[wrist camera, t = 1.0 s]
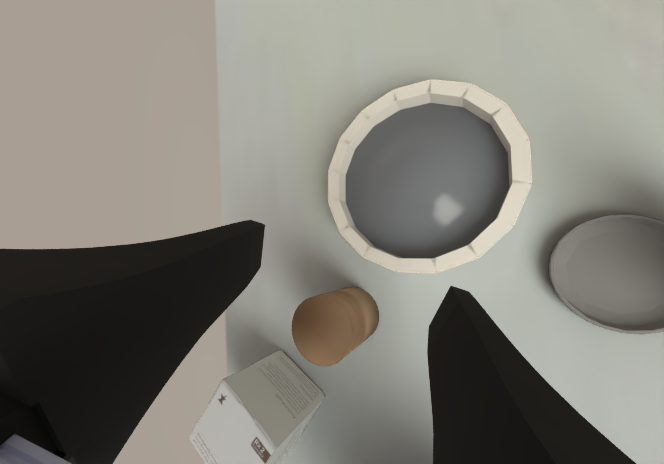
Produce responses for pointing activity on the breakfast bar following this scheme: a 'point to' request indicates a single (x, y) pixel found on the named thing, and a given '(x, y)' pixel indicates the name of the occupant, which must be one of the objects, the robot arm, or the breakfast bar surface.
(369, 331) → the walnut cylinder
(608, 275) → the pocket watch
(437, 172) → the round tray
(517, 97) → the breakfast bar surface
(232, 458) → the skincare box
